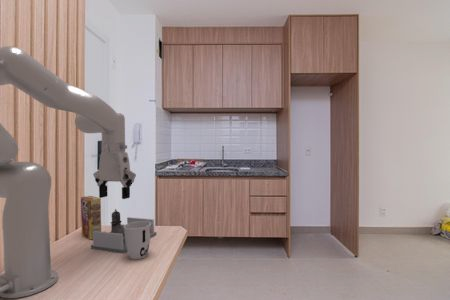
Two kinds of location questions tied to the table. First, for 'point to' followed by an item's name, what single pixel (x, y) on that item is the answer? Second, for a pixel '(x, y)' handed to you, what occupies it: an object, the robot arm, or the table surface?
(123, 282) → the table surface
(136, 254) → the cup
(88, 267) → the table surface
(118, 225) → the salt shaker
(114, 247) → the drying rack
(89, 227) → the candy box
